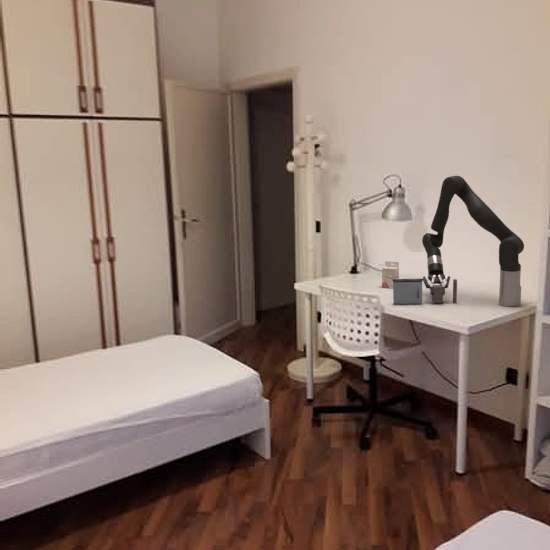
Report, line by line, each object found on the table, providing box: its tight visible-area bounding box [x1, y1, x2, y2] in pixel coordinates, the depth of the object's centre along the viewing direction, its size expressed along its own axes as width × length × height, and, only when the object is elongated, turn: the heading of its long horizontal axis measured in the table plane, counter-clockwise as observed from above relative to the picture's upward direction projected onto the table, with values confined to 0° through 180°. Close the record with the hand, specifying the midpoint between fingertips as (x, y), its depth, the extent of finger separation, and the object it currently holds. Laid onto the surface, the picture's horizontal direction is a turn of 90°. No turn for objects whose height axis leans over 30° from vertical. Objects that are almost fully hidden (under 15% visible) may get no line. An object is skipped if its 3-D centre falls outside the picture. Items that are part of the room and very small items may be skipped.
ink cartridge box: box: [381, 261, 400, 289], centre depth 327 cm, size 9×5×15 cm, turn 57°
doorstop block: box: [431, 284, 444, 304], centre depth 289 cm, size 5×5×8 cm
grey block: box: [394, 281, 423, 305], centre depth 289 cm, size 14×2×11 cm, turn 82°
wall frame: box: [392, 278, 458, 303], centre depth 289 cm, size 32×4×13 cm, turn 82°
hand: (438, 294), depth 287 cm, fingers closed on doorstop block, 4 cm apart
